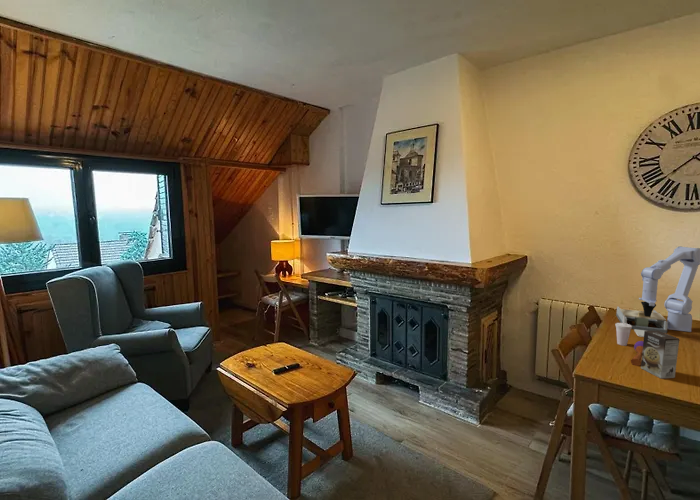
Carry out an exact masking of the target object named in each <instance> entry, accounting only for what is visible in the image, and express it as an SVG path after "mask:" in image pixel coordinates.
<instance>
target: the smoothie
mask: <svg viewBox="0 0 700 500" xmlns="http://www.w3.org/2000/svg"><path fill="white" fill-rule="evenodd" d="M624 319H625V316H623V323H621V322H616V323H615V324H614V325H615V328H616V329H615V331H616V344H617V345H620V346H624V347H626V346H627V345H628V342H629V338H630V335H631V330H633V329H632V326H631V325H632V324H630V323H629V324H628V323H627V324H626V323H624Z"/></svg>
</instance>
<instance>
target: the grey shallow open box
mask: <svg viewBox="0 0 700 500" xmlns="http://www.w3.org/2000/svg"><path fill="white" fill-rule="evenodd" d="M620 309H621V308H620V306H616V313H615V316H616V317H617V319H618V320H619V323H623V316H624V315H623V313H622V312H621V310H620ZM652 312H655V313H658V312H657V310H655V309H653V311H652ZM628 321H629V322H635V317H627V316H625V319H624V323H626V324H628ZM648 324H654V325H655V326H656V327H650V326H648V327H643V326H636V325H635V324H634V325H633V324H630V325H631V326H632V329H631V330H634V329H637V330H645V331H660V332H663V333H666V334H668V329H667V326H668V323H667V320H666V321H664V320H655V319H649V322H648Z"/></svg>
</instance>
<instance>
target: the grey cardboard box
mask: <svg viewBox="0 0 700 500" xmlns="http://www.w3.org/2000/svg"><path fill="white" fill-rule="evenodd" d="M642 341H643V352H642V355H641V365H640V369H642V370H643V371H645V372H647V373H650V374H651V375H653V376H655V377H657V378H659V379H674V378H676V369H677V361H678V353H679V347H680V345H679V344H680V338H678V337H676V336H673V335H670V334H668V333H663V332H660V331H644V337H643V340H642Z"/></svg>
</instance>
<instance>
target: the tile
mask: <svg viewBox="0 0 700 500" xmlns="http://www.w3.org/2000/svg"><path fill="white" fill-rule="evenodd" d="M633 331H634V333H635V334H636V335H637V336H638V337H641V338H644V331H645V330H637V329H633Z"/></svg>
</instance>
